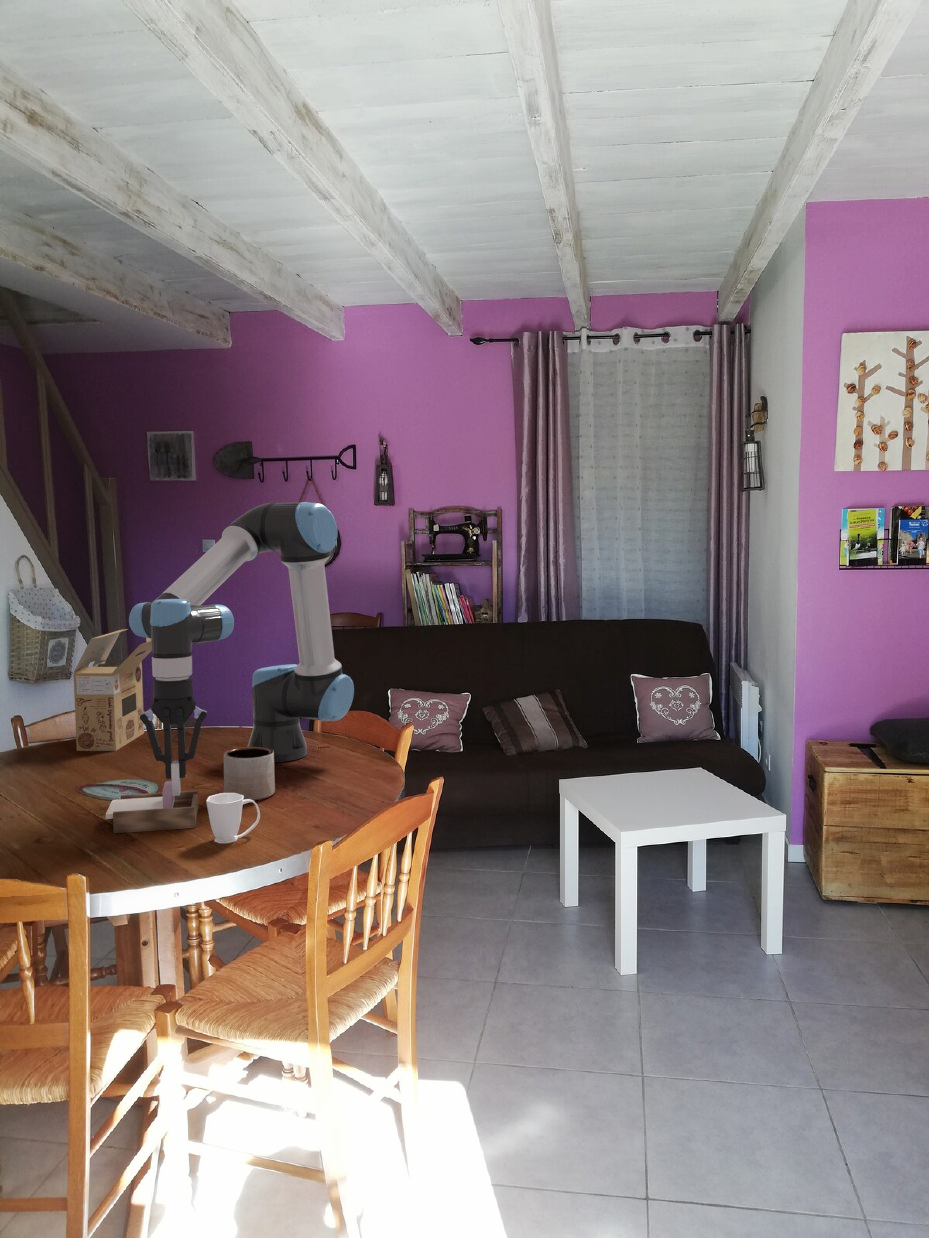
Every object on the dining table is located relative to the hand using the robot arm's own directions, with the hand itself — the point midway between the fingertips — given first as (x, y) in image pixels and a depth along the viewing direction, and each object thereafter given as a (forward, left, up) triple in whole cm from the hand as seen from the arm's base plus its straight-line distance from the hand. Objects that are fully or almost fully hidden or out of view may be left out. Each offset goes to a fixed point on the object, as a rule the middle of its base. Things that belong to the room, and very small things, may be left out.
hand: (176, 793), depth 184 cm
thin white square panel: (+7, 0, -3) cm, 7 cm away
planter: (-14, -14, -6) cm, 21 cm away
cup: (-11, +14, -6) cm, 19 cm away
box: (+20, -73, -6) cm, 76 cm away
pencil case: (+4, 0, -5) cm, 6 cm away
